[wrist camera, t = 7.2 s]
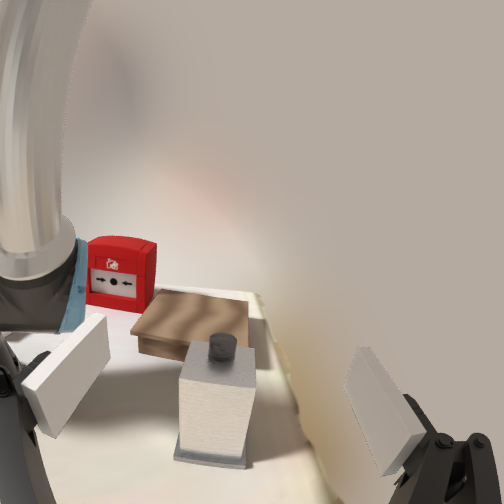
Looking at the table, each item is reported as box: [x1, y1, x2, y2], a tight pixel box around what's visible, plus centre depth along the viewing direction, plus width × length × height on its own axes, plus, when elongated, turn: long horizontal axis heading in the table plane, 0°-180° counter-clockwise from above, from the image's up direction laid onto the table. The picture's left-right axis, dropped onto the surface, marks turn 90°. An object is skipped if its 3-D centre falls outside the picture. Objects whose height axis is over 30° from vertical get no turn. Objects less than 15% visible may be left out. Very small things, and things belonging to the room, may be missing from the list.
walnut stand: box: [130, 289, 248, 361], centre depth 54 cm, size 20×20×5 cm
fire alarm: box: [86, 236, 157, 314], centre depth 62 cm, size 16×11×15 cm
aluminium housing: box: [174, 333, 256, 470], centre depth 28 cm, size 8×8×15 cm
